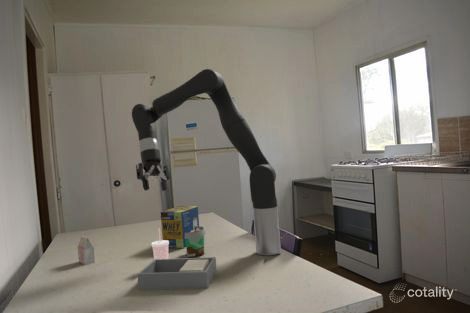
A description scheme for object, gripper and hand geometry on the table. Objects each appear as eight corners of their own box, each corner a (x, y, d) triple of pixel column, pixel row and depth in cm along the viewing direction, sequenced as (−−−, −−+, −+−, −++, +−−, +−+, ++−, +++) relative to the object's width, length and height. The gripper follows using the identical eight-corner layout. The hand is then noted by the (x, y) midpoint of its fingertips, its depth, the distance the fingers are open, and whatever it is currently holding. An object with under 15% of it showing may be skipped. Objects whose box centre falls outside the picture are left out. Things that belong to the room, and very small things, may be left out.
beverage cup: (162, 271, 118) (159, 230, 118) (149, 269, 121) (146, 229, 121) (174, 265, 123) (171, 226, 123) (161, 263, 127) (159, 225, 126)
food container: (202, 259, 128) (199, 232, 128) (186, 259, 129) (184, 233, 129) (210, 249, 140) (209, 225, 140) (196, 250, 142) (194, 225, 141)
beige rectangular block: (210, 273, 110) (209, 259, 110) (203, 285, 100) (201, 270, 100) (188, 273, 111) (187, 259, 111) (179, 286, 101) (178, 270, 101)
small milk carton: (88, 259, 140) (86, 234, 139) (94, 262, 135) (92, 237, 135) (78, 262, 137) (76, 236, 137) (85, 265, 132) (83, 239, 132)
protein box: (162, 247, 149) (159, 212, 149) (181, 238, 163) (178, 205, 163) (183, 248, 145) (180, 211, 145) (200, 239, 160) (198, 205, 159)
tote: (216, 274, 111) (215, 257, 111) (208, 291, 98) (206, 272, 98) (155, 275, 114) (154, 259, 114) (138, 292, 101) (137, 274, 101)
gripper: (140, 145, 131) (146, 186, 127) (169, 149, 142) (176, 187, 138) (129, 152, 135) (134, 192, 131) (158, 156, 146) (164, 193, 142)
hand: (156, 190), depth 134 cm, fingers open, 8 cm apart
